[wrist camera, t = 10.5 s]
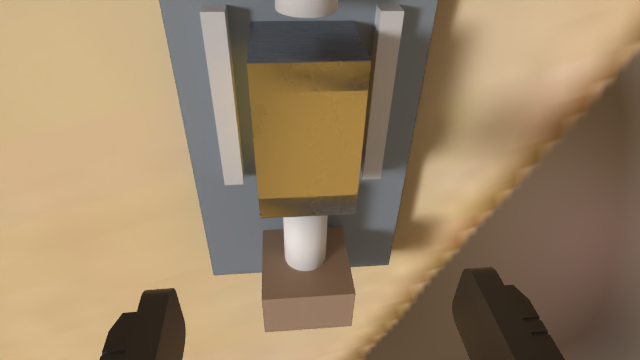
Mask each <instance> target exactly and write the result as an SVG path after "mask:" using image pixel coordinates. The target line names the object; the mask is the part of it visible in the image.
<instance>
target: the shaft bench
mask: <svg viewBox="0 0 640 360" xmlns="http://www.w3.org/2000/svg"><path fill="white" fill-rule="evenodd" d="M437 2H438V0H159V3H160V8H161V13H162V18H163V23H164V28H165V33H166V38H167V43H168V48H169V53H170V58H171V63H172V68H173V73H174V78H175V83H176V88H177V93H178V98H179V103H180V108H181V113H182V118H183V123H184V128H185V133H186V138H187V143H188V148H189V153H190V158H191V163H192V168H193V173H194V178H195V183H196V188H197V193H198V198H199V203H200V208H201V213H202V218H203V223H204V228H205V233H206V238H207V243H208V248H209V254H210V259H211V264H212V269H213V274H214V275H226V274H243V273H260V272H262V307H263V317H264V327H265V332H274V331H288V330H302V329H316V328H330V327H344V326H352V318H353V310H354V301H355V289H354V284H353V279H352V274H351V269H350V267H360V266H377V265H389V259H390V254H391V249H392V243H393V238H394V233H395V227H396V222H397V217H398V211H399V206H400V200H401V195H402V190H403V184H404V179H405V174H406V168H407V163H408V158H409V152H410V147H411V142H412V136H413V131H414V125H415V120H416V115H417V109H418V104H419V99H420V93H421V88H422V83H423V77H424V72H425V67H426V61H427V56H428V50H429V45H430V40H431V34H432V29H433V24H434V18H435V13H436V8H437ZM350 20H352V21H353V23H354V25H355V27H356V30H357V32H358V34H359V36H360V38H361V40H362V42H363V44H364V46H365V48H366V50H367V52H368V54H369V57H370V59H371V68H370V78H369V88H368V98H367V107H366V117H365V127H364V137H363V147H362V156H361V166H360V176H359V186H358V195H357V205H356V214H344V215H324V216H303V217H283V218H262V219H260V211H259V200H258V188H257V177H256V165H255V153H254V142H253V130H252V119H251V107H250V95H249V84H248V72H247V53H248V43H249V33H250V22H251V21H350Z"/></svg>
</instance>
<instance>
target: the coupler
mask: <svg viewBox="0 0 640 360" xmlns="http://www.w3.org/2000/svg"><path fill="white" fill-rule="evenodd" d="M370 68H371V59H370V57H369V54H368V52H367V50H366V48H365V46H364V44H363V42H362V40H361V38H360V36H359V34H358V32H357V30H356V27H355V25H354V23H353V21H352V20H350V21H251V22H250V33H249V43H248V53H247V72H248V84H249V95H250V107H251V119H252V130H253V142H254V153H255V165H256V177H257V188H258V200H259V211H260V219H262V218H283V217H303V216H324V215H344V214H356V205H357V195H358V186H359V176H360V166H361V156H362V147H363V137H364V127H365V117H366V107H367V98H368V88H369V78H370Z"/></svg>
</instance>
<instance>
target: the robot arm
mask: <svg viewBox="0 0 640 360" xmlns="http://www.w3.org/2000/svg"><path fill="white" fill-rule="evenodd" d="M452 311H453V317H454V321H455V324H456V326H457V329H458V331H459V334H460V336H461V338H462V341H463V343H464V346H465V348H466V351H467V353H468V356H469V358H470V360H565V359H564V358H563V356H562V354H561V353H560V351H559V349H558V348H557V346H556V344H555V343H554V341H553V339H552V338H551V336H550V335H548V331H547V329H546V327H545V326H544V324H543V322H542V321H540V320H539V316H538V314H537V312H536V310H535V309H534V307H533V306H532V304H531V302H530V300H529V299H528V298H527V297H526V296H525V295H523V294H522V293H521V292H520V291H519V290H518V289H517V288H516V287H515V286H514V285H506V286H504V284H503V282H502V280H501V278H500V277H499V275H498V273H497V271H496V270H495V269H494V268H492V267H483V268H471V269H470V268H469V269H464V271H463V272H462V275H461V278H460V281H459V284H458V287H457V290H456V293H455V296H454V299H453V304H452ZM184 346H185V321H184V318H183V314H182V311H181V307H180V304H179V301H178V297H177V294H176V291H175V289H174V288H170V289H156V290H145V291H144V292H143V293H142V296H141V299H140V303H139V306H138V310H137V312H130V313H123V314H122V315H121V316H120V317H119V319H118V320H117V321H116V323H115V324H114V325H113V327H112V328H111V329H110V331H109V332H108V335H107V339H106V342H105V345H104V348H103V351H102V356H101V357H100V360H182V358H183V352H184Z"/></svg>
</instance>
